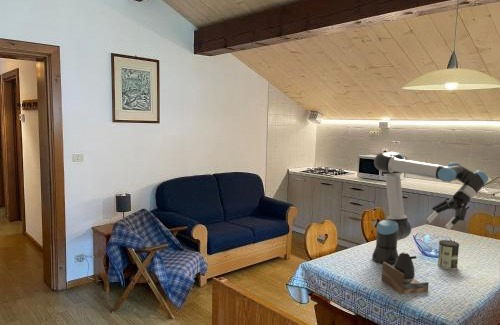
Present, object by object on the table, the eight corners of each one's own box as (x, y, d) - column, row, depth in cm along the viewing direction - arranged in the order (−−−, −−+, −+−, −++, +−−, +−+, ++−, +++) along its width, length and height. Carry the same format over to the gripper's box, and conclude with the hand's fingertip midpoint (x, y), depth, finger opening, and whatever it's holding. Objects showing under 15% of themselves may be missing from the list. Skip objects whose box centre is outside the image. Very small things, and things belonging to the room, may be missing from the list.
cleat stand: (407, 278, 201) (408, 260, 200) (427, 291, 185) (429, 271, 184) (381, 280, 197) (382, 261, 196) (400, 294, 182) (401, 274, 181)
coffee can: (454, 264, 223) (455, 240, 222) (459, 270, 213) (462, 246, 212) (435, 262, 225) (437, 239, 224) (440, 268, 215) (442, 244, 214)
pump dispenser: (412, 288, 184) (414, 257, 182) (390, 282, 189) (392, 253, 188) (415, 280, 193) (417, 251, 191) (394, 276, 198) (396, 247, 197)
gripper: (487, 205, 188) (459, 236, 186) (450, 195, 212) (425, 222, 210) (479, 195, 186) (451, 226, 184) (442, 186, 210) (417, 213, 208)
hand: (437, 224), depth 197 cm, fingers open, 13 cm apart
